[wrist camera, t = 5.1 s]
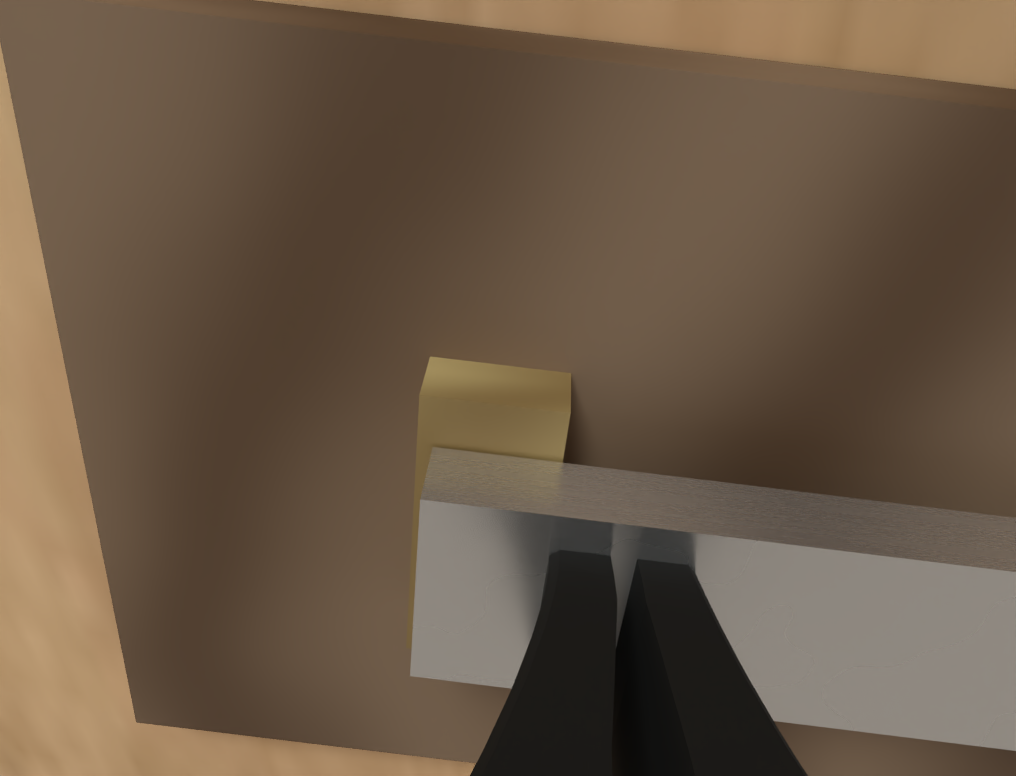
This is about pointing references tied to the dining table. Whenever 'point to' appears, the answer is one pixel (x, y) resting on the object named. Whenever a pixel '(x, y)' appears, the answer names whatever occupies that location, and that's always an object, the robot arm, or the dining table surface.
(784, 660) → the strap
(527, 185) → the base board
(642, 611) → the robot arm
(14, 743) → the dining table surface
